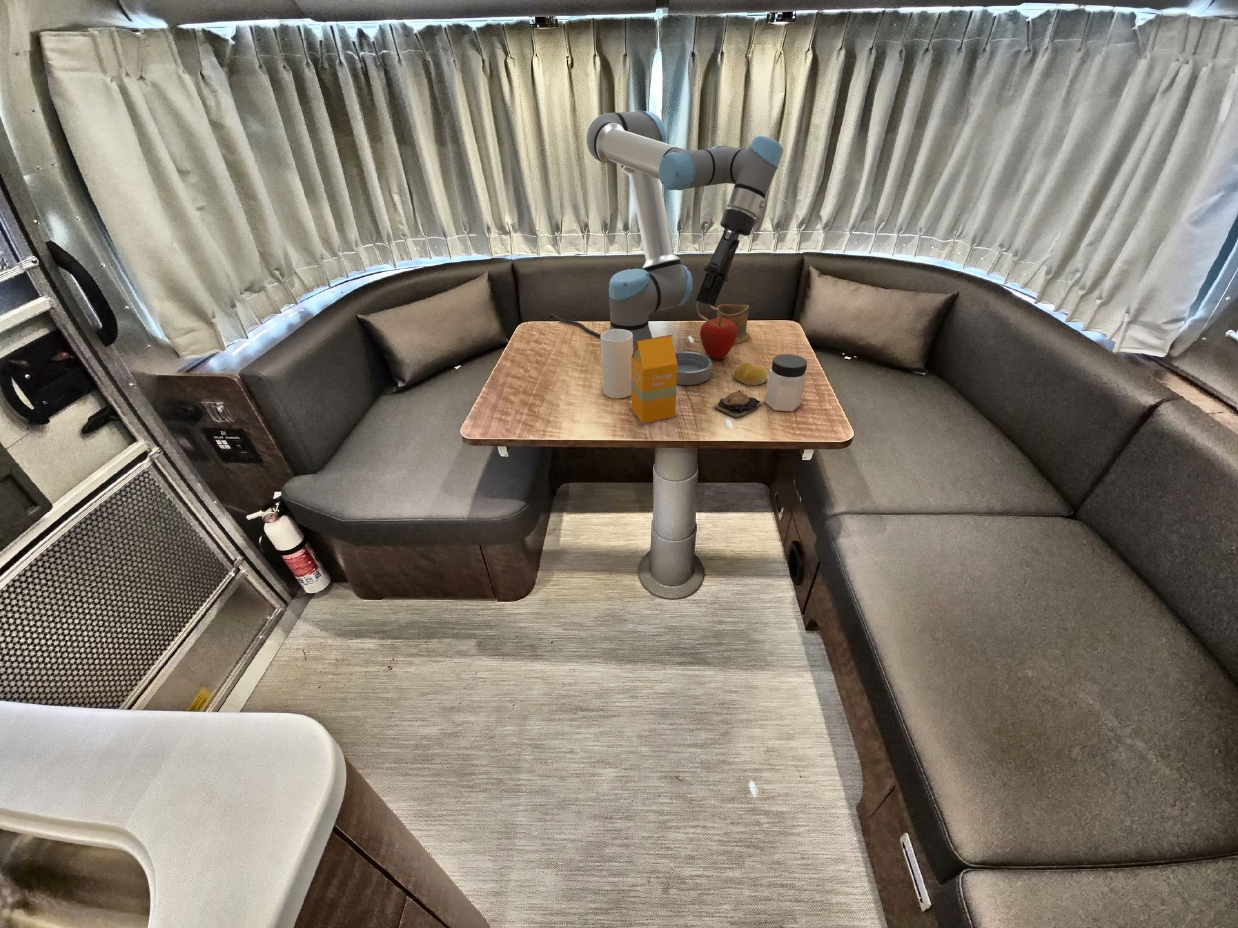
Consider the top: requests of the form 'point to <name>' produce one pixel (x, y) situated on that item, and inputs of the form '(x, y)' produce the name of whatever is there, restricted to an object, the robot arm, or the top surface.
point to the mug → (732, 318)
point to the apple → (718, 337)
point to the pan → (692, 368)
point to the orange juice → (654, 379)
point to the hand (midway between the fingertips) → (705, 303)
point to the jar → (786, 382)
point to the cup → (616, 362)
